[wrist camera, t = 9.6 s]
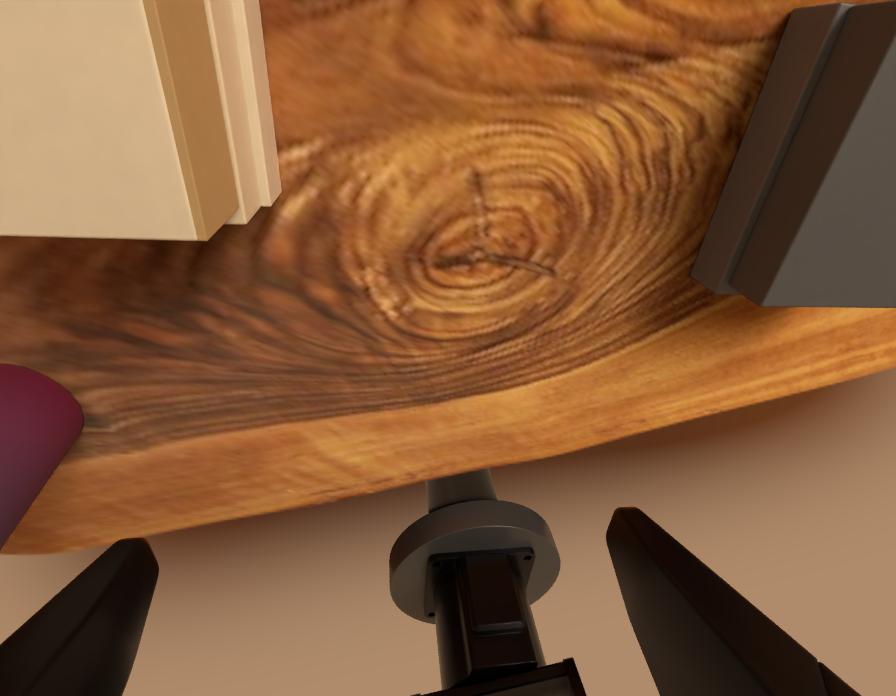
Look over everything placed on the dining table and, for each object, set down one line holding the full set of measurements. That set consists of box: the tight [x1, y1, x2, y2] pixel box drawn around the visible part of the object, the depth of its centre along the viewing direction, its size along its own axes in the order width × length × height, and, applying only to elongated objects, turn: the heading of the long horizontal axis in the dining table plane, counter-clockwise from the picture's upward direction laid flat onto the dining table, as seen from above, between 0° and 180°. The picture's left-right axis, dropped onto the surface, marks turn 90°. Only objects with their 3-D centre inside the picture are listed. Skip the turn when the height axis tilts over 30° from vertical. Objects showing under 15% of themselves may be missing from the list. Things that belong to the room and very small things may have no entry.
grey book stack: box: [690, 0, 896, 308], centre depth 17 cm, size 10×8×4 cm
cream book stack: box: [204, 0, 282, 225], centre depth 12 cm, size 10×7×4 cm
